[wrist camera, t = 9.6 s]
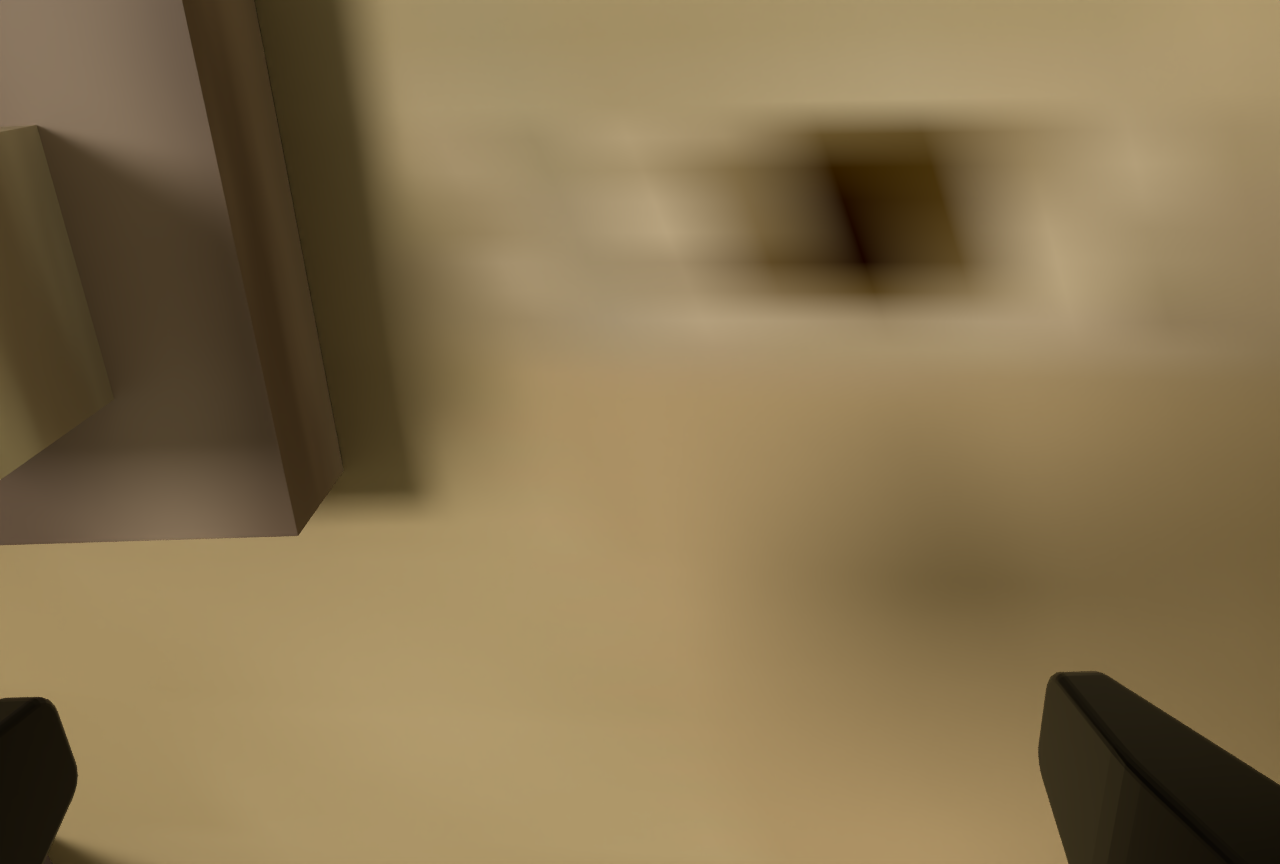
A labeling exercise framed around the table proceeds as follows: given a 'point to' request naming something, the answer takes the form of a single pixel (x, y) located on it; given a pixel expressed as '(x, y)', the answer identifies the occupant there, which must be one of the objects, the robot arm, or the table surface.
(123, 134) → the pedestal
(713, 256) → the table surface
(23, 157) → the beige cube
